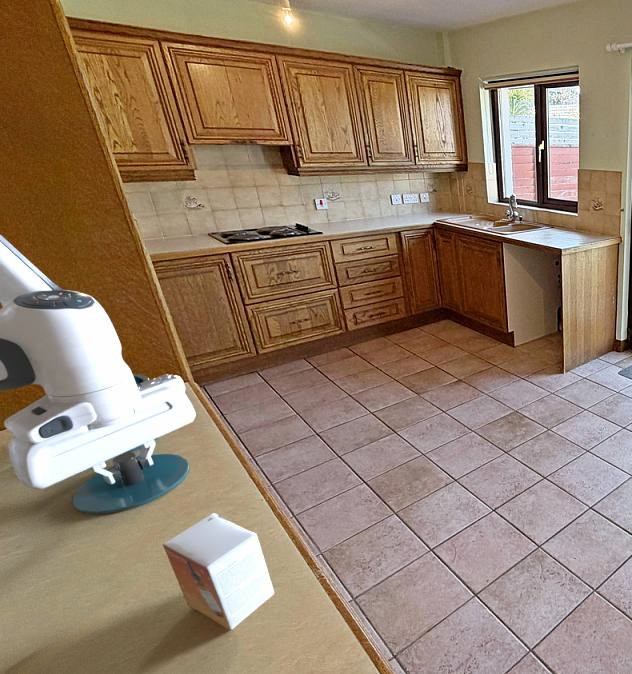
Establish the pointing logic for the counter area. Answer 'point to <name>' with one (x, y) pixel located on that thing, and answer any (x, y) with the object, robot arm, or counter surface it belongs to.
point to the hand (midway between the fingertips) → (130, 473)
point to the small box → (220, 570)
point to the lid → (131, 484)
